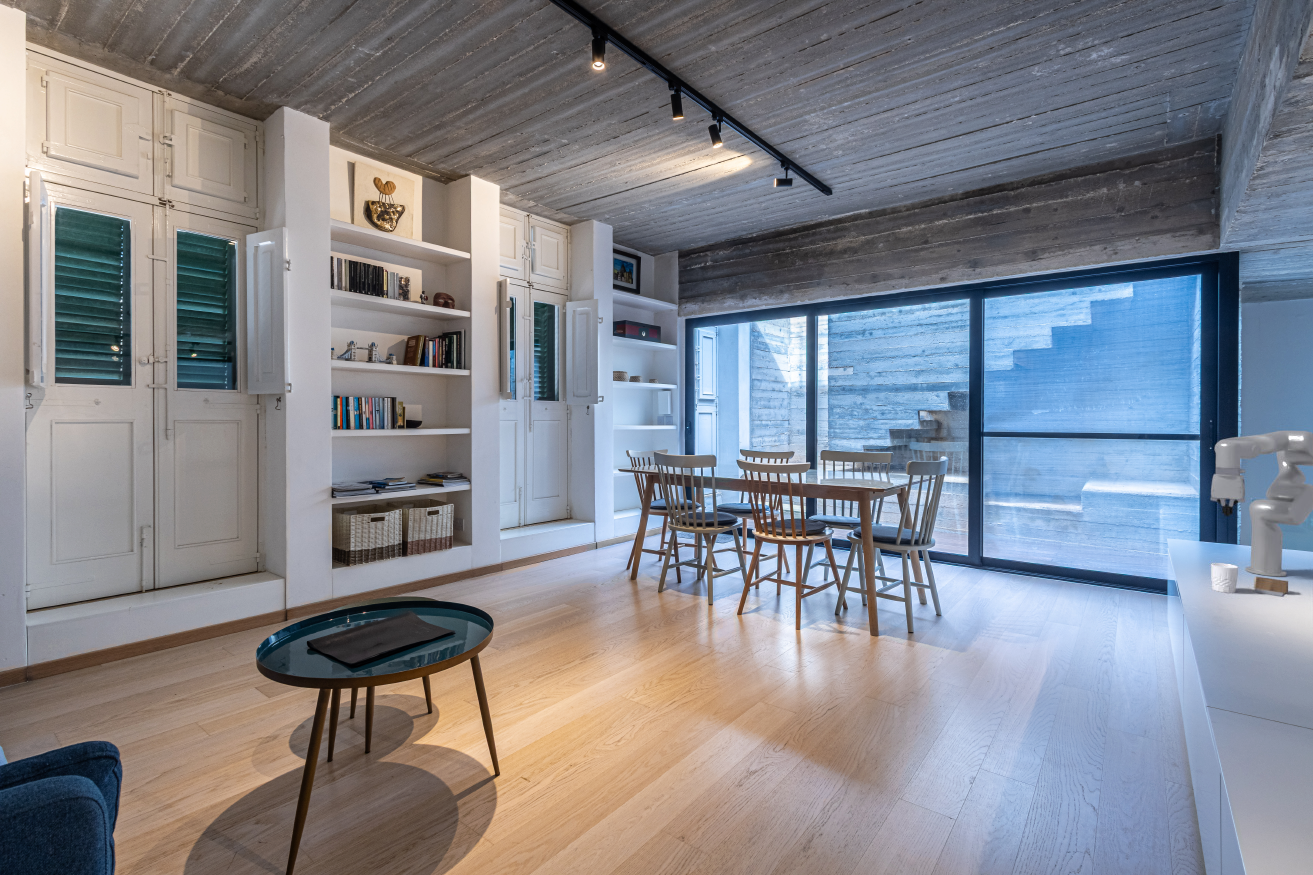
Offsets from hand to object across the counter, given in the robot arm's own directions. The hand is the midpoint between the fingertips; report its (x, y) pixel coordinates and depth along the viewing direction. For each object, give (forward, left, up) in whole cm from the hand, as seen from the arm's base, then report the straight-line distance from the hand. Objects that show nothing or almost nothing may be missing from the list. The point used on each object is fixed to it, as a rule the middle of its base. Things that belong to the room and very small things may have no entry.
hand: (1227, 515), depth 258 cm
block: (+11, +10, -24) cm, 28 cm away
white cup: (+24, +3, -27) cm, 36 cm away
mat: (+11, +15, -26) cm, 32 cm away
